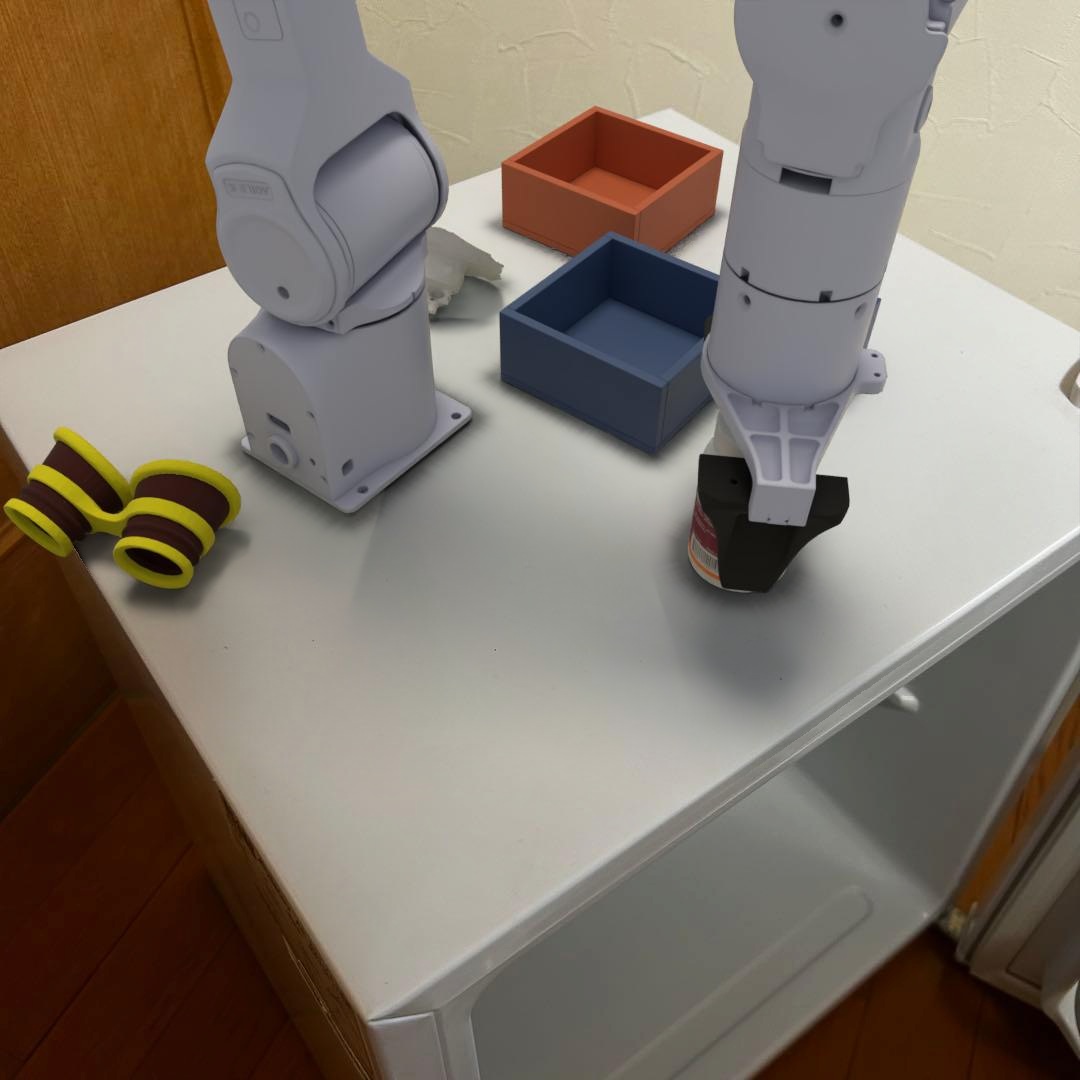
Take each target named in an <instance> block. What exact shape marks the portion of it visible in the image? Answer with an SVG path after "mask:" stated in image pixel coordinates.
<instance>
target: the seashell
mask: <svg viewBox="0 0 1080 1080" xmlns="http://www.w3.org/2000/svg"><path fill="white" fill-rule="evenodd" d="M426 234H427V246H428V255H427V256H426V257H425V259H424V266H425V278H426V290H427V302H428V314H429V315H430V314H431V315H435V314H436V313H437V311H438V309H439V308H442V307H443V306H448V305H449V304H450V302H451V301H452V295H456V294H458V293H459V291H460V290H461V288H462V285H463V283H464V281H465V280H464V279H465V276H466V277H477V278H482V279H485V280H487V281H489V282H494V281H501V280H502V278H501V274H502V272H503V270H504V268H505V266H504V264H502V263H500V262H499V261H496V260H495V259H494V258H493V257H492V254H491V253H489V252H487V251H485V250H482V249H480V248H479V247H477V246H475V245H474V244H471V243H470V242H468V241H467V240H465V239H464V238H462V237H460V235H458V234H456V233H455V232H453V231H450V230H447V229H446V228H443V227H439V226H433V225H432V226H431V227H429V228H428V229H427V230H426Z"/></svg>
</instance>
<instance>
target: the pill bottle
mask: <svg viewBox="0 0 1080 1080" xmlns="http://www.w3.org/2000/svg"><path fill="white" fill-rule="evenodd" d="M702 454H709V455H719V456H730V457H740V458H744V456H743V454H742V453H741V451H740V449H739V447H738V445H737V443H736V441H735V439H734V437H733V435H732V433H731V431H730V429H729V427H728V426H727V424H726V422H725V420H724V418H723V416H722V414H721V412H720V410H719V411H718V413H717V416H716V421H715V428H714V433H713V437H712V438H711V439H710V440H709V441H708V443H707V444H706V446H705V448H704V450H703V452H702ZM695 490H696V491H695V492H696V493H695V499H694V505H693V509H692V510H693V511H692V518H691V525H690V531H689V532H690V533H689V536H688V537H689V538H688V544H687V555H688V559H689V561H690V564H691V566H692V567H693V569H694V570H695V572H696V573H697V574H698V575H699V576H700V578H702V579H703V580H705V581H706V582H708V583H709V584H711V585H712V586H715V587H717V588H719V589H723V590H725V591H730V592H736V593H752V592H751V591H741V590H732V589H724V588H723V587H722V586H721V583H720V579H719V574H718V560H717V540H716V534H715V531H714V528H713V525H712V523H711V521H710V520H709V518H708V517H707V515H706V514H705V513H704V511H703V510H702V508H701V504H700V501H699V497H698V491H697V489H695ZM787 569H788V567H787V568H786V570H787ZM786 570H785V571H784V572H783V574H782V575H781V577H780V578H779V579H778V581H779V580H780V579H781V578H782V577H783V576H784V574H785V572H787V571H786Z"/></svg>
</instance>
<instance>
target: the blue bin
mask: <svg viewBox="0 0 1080 1080" xmlns="http://www.w3.org/2000/svg"><path fill="white" fill-rule="evenodd" d="M719 275H720V274H718V273H716V272H713V271H710V270H708V269H705V268H703V267H701V266H698V265H696V264H693V263H691V262H688V261H686V260H684V259H681V258H678V257H676V256H673V255H671V254H669V253H667V252H665V253H664V252H661V251H659V250H656V249H654V248H651V247H649V246H646V245H644V244H641V243H639V242H637V241H634V240H632V239H629V238H627V237H624V236H622V235H619V234H617V233H614V232H612V231H609V232H608V233H607V234H605V235H604V236H602V237H601V238H600V239H598V240H597V241H596V242H594V243H593V244H591V245H590V246H589V247H587V248H586V249H585V250H583V251H582V252H580V253H579V254H578V255H576V256H575V257H572V258H571V259H569V260H568V261H566V262H565V263H564V264H562V265H561V266H560V267H558V268H557V269H556V270H554V271H552V272H551V273H550V274H549V275H547V276H546V277H545V278H543V279H542V280H540V281H539V282H538V283H536V284H535V285H533V286H532V287H531V288H530V289H528V290H527V291H525V292H524V293H523V294H521V295H520V296H518V297H517V298H515V300H513V301H512V302H510V303H509V304H508V305H506V306H505V307H504V308H502V309H501V310H499V312H498V319H499V320H498V321H499V322H498V324H499V362H500V366H499V367H500V380H502V381H504V382H506V383H508V384H510V385H512V386H513V387H516V388H518V389H520V390H522V391H524V392H526V393H527V394H530V395H532V396H534V397H536V398H537V399H539V400H542V401H543V402H545V403H548V404H550V405H551V406H554V407H555V408H557V409H559V410H561V411H563V412H566V413H567V414H570V415H571V416H573V417H575V418H577V419H580V420H581V421H584V422H585V423H587V424H589V425H591V426H593V427H595V428H597V429H599V430H601V431H604V433H607V434H609V435H611V436H613V437H615V438H617V439H619V440H621V441H622V442H625V443H627V444H629V445H631V446H632V447H635V448H637V449H638V450H640V451H643V452H644V453H647V454H649V455H650V456H655V455H656V454H657V453H659V451H660V450H661V449H662V448H664V446H665V445H666V444H668V442H670V441H671V440H672V438H674V437H675V436H676V435H677V434H678V433H679V432H680V431H681V430H682V429H683V428H684V427H685V426H686V425H687V424H689V422H690V421H691V420H692V419H693V418H695V416H696V415H697V414H698V413H700V411H701V410H702V409H703V408H705V406H707V405H708V404H709V403H710V402H711V401H712V400H714V399H713V397H712V395H711V393H710V391H709V389H708V387H707V385H706V383H705V381H704V379H703V376H702V373H701V356H702V350H703V345H704V325H705V321H706V319H707V318H708V317H709V316H711V315H713V313H714V306H715V300H716V294H717V288H718V281H719Z"/></svg>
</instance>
